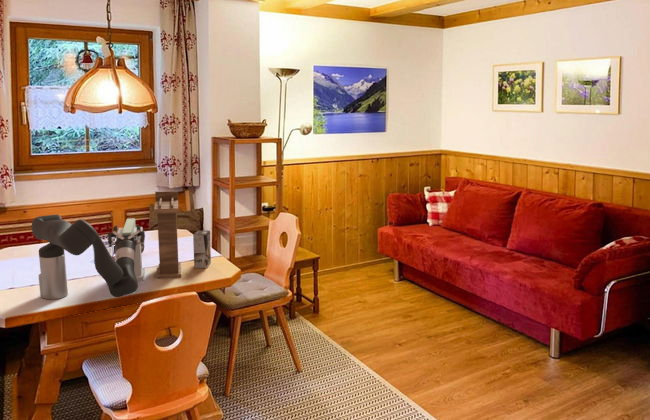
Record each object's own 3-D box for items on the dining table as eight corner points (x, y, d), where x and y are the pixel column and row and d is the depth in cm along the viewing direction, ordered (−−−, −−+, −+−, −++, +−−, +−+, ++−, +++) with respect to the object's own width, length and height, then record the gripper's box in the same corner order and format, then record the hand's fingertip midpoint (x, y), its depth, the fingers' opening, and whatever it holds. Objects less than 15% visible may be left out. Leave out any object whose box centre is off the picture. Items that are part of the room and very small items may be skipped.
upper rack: (181, 278, 256) (177, 199, 249) (157, 280, 254) (153, 199, 246) (180, 265, 275) (177, 190, 268) (158, 266, 273) (155, 191, 265)
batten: (131, 240, 239) (131, 232, 238) (122, 241, 238) (122, 232, 237) (135, 225, 263) (135, 218, 262) (127, 226, 262) (127, 218, 262)
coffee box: (207, 268, 272) (206, 235, 268) (193, 268, 272) (192, 234, 268) (211, 262, 281) (210, 230, 277) (198, 262, 281) (197, 229, 277)
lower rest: (143, 281, 253) (140, 234, 248) (119, 282, 250) (116, 235, 246) (144, 271, 266) (142, 226, 261) (122, 272, 263) (119, 227, 259)
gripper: (143, 246, 229) (144, 219, 241) (105, 248, 226) (108, 220, 238) (144, 259, 234) (145, 232, 246) (107, 262, 231) (110, 233, 242)
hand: (127, 226), depth 242 cm, fingers open, 8 cm apart
